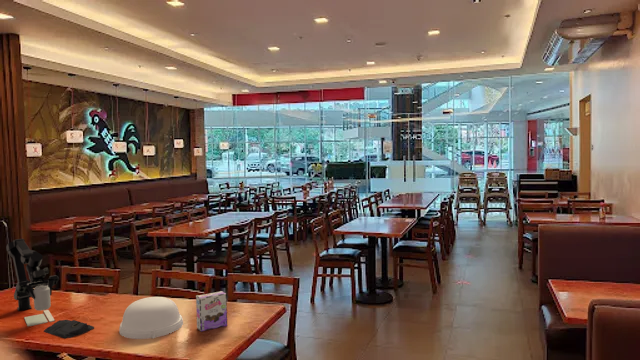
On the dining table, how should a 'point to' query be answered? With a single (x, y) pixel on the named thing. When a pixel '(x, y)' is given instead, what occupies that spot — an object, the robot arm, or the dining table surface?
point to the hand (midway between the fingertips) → (42, 296)
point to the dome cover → (150, 318)
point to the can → (42, 297)
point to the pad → (35, 320)
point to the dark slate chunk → (68, 328)
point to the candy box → (211, 310)
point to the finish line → (49, 315)
